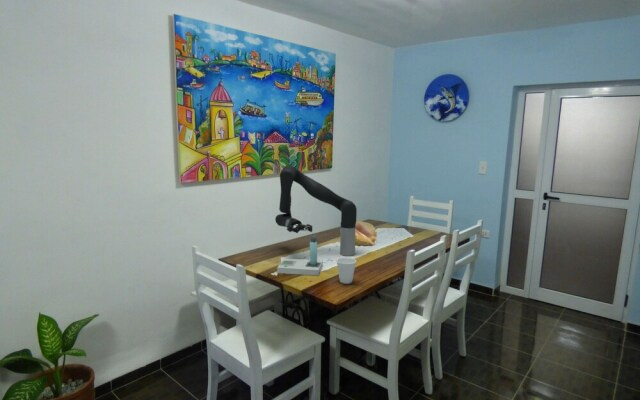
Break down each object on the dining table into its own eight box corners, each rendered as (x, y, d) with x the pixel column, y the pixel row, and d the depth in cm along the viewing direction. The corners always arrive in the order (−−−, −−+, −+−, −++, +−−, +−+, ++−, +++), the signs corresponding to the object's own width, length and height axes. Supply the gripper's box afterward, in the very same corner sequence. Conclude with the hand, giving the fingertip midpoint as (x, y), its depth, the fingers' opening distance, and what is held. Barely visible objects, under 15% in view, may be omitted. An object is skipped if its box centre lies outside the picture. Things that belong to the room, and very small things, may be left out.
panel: (284, 263, 214) (284, 257, 214) (322, 265, 211) (322, 259, 210) (277, 273, 199) (277, 266, 198) (318, 275, 195) (318, 269, 195)
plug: (310, 268, 206) (310, 235, 203) (317, 269, 205) (317, 235, 202) (308, 271, 202) (309, 236, 199) (316, 271, 202) (316, 237, 199)
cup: (332, 279, 190) (333, 258, 188) (350, 277, 194) (351, 256, 192) (340, 286, 181) (341, 264, 179) (359, 284, 184) (359, 262, 183)
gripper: (282, 219, 221) (293, 225, 207) (304, 217, 227) (316, 223, 213) (282, 231, 222) (292, 238, 208) (304, 229, 229) (315, 236, 214)
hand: (304, 230), depth 210 cm, fingers open, 8 cm apart
